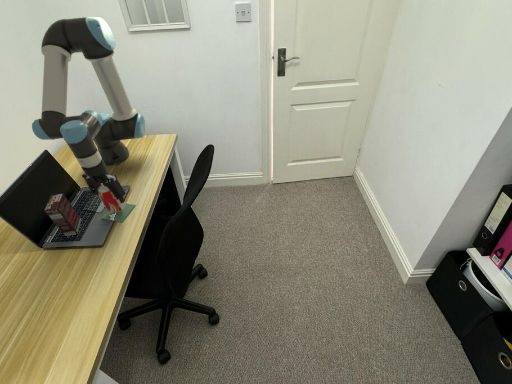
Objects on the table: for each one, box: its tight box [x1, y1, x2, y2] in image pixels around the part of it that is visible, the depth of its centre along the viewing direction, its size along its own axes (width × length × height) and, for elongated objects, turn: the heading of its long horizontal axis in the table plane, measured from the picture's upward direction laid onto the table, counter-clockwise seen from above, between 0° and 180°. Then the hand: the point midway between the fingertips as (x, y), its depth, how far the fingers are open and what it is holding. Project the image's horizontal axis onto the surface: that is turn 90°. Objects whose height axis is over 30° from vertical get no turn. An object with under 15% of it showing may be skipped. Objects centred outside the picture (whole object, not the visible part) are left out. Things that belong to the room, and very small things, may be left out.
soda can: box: [98, 183, 121, 213], centre depth 115 cm, size 7×7×12 cm
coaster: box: [101, 202, 136, 223], centre depth 120 cm, size 10×10×1 cm
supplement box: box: [43, 193, 83, 237], centre depth 109 cm, size 9×5×16 cm, turn 13°
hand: (115, 206), depth 118 cm, fingers closed on soda can, 7 cm apart
